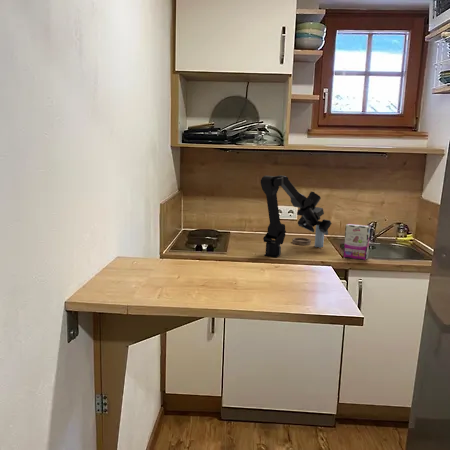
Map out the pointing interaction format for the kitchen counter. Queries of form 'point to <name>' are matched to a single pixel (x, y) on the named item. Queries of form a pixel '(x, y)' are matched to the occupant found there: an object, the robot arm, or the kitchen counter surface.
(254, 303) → the kitchen counter surface
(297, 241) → the walnut tray
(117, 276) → the kitchen counter surface
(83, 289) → the kitchen counter surface
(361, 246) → the candy bar box
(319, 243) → the bead jar
